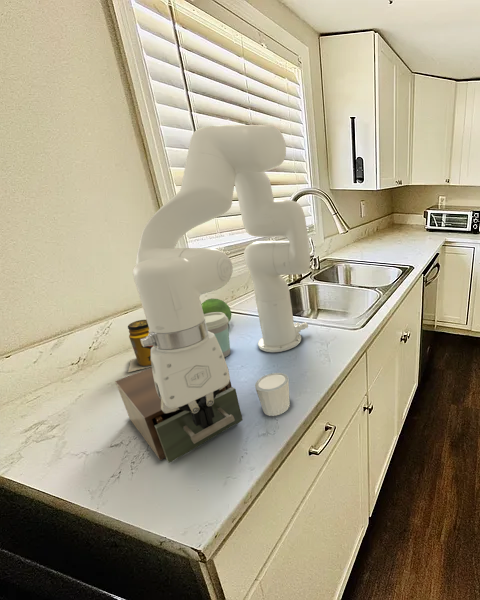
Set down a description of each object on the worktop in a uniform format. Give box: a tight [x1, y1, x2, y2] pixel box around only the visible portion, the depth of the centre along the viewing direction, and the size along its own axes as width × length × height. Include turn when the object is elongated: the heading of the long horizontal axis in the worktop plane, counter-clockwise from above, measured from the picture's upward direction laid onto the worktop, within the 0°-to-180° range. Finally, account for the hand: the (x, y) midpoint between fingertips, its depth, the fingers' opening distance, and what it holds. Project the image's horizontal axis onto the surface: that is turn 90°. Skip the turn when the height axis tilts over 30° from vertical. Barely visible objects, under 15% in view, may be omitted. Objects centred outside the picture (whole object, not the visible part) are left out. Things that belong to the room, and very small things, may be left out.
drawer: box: [152, 386, 243, 464], centre depth 65 cm, size 22×14×8 cm, turn 52°
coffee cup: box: [204, 312, 231, 358], centre depth 93 cm, size 8×8×12 cm
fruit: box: [201, 298, 233, 323], centre depth 112 cm, size 15×10×10 cm, turn 32°
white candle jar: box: [254, 372, 291, 417], centre depth 72 cm, size 7×7×7 cm
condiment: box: [127, 319, 153, 373], centre depth 89 cm, size 7×8×12 cm
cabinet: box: [114, 367, 233, 461], centre depth 68 cm, size 18×15×10 cm
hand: (205, 424), depth 59 cm, fingers closed
